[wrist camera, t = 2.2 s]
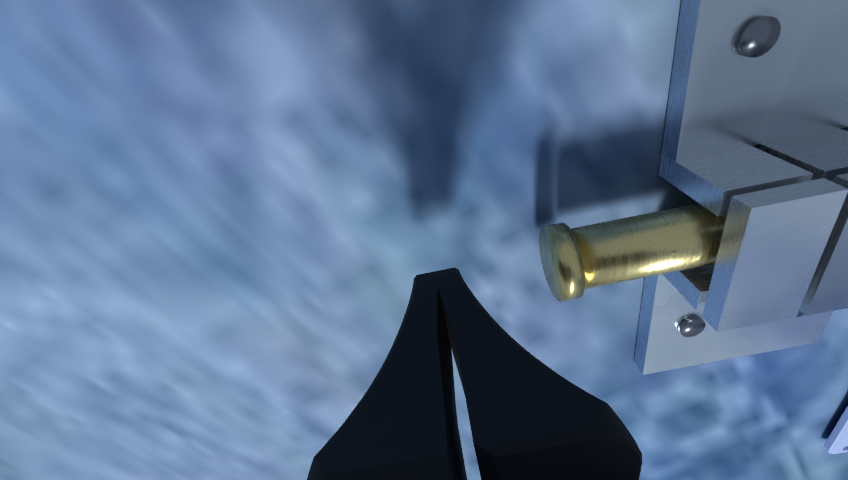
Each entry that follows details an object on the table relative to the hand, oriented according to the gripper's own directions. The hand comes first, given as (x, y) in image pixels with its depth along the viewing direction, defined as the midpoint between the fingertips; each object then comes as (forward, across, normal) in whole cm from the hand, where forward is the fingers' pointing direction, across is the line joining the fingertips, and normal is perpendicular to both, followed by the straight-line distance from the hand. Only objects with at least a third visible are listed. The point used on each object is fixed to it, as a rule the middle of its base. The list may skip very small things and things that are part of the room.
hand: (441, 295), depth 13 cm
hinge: (+2, -12, 0) cm, 12 cm away
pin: (+2, -8, 0) cm, 9 cm away
